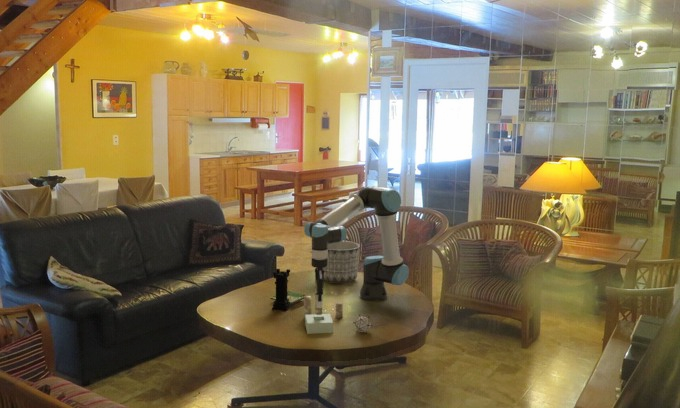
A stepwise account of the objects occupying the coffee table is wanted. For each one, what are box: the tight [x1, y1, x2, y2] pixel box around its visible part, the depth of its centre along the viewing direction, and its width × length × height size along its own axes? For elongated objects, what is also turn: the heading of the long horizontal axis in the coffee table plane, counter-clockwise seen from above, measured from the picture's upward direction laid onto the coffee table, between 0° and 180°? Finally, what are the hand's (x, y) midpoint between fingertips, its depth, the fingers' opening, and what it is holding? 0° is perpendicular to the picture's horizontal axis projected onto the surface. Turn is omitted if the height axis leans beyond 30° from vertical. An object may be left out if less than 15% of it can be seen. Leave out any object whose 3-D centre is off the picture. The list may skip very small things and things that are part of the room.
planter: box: [322, 240, 361, 284], centre depth 361 cm, size 26×26×22 cm
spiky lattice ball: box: [352, 313, 374, 335], centre depth 277 cm, size 9×8×10 cm
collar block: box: [304, 313, 334, 335], centre depth 281 cm, size 12×12×5 cm
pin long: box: [314, 280, 324, 315], centre depth 279 cm, size 4×4×16 cm
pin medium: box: [303, 295, 312, 320], centre depth 295 cm, size 4×4×11 cm
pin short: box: [335, 301, 344, 319], centre depth 297 cm, size 4×4×7 cm
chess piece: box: [271, 268, 292, 312], centre depth 309 cm, size 8×8×20 cm
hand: (318, 306), depth 279 cm, fingers closed on pin long, 3 cm apart
